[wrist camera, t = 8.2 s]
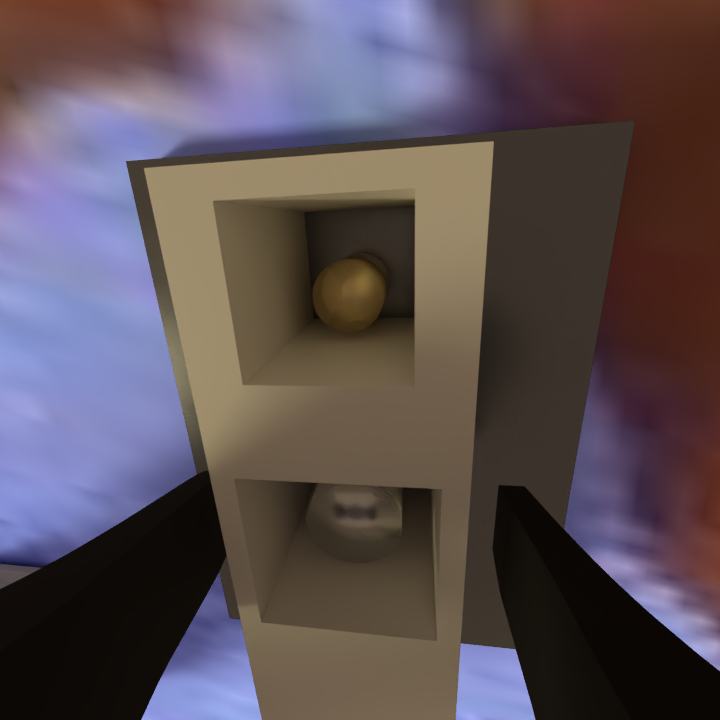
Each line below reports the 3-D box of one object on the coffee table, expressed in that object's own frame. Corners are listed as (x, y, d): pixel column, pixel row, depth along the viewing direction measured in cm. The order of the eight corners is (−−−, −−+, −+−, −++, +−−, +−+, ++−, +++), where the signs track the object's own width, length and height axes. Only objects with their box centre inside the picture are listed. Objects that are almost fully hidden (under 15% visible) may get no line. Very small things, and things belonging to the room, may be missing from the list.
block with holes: (439, 606, 14) (450, 786, 10) (314, 594, 15) (270, 757, 11) (454, 182, 9) (493, 141, 5) (266, 194, 10) (144, 168, 6)
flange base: (534, 626, 16) (578, 774, 11) (239, 597, 17) (184, 715, 13) (613, 131, 10) (771, 55, 5) (149, 166, 11) (-6, 132, 7)
